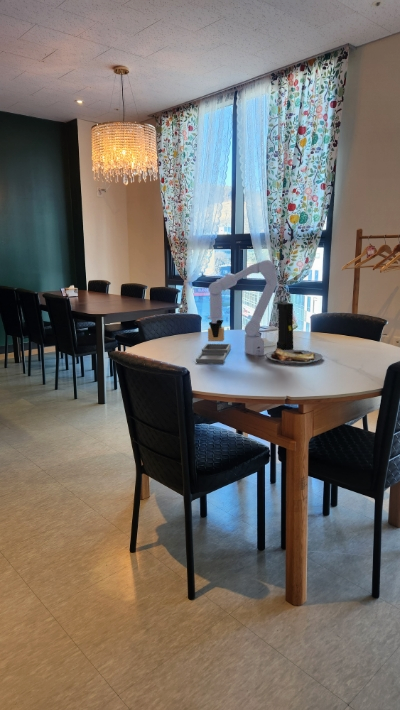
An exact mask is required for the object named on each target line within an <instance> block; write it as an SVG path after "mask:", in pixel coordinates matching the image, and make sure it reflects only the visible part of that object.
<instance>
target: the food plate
mask: <svg viewBox="0 0 400 710" xmlns="http://www.w3.org/2000/svg"><path fill="white" fill-rule="evenodd" d="M264 354H265V355H264V356H265V358H266V359H268V360H272V361H277V362H279V363H281V364H285V365H289V364H290V365H295V364H296V365H299V364H301V365H302V364H309V363H312V362H317V361H320V360H321V359H323V358H324V355H323V354H321V353H319V352H313V351H310V350H302V349H299V350H298V349H292V350H281V349H279V348H275V350H273V351H268V352H267V353H264Z"/></svg>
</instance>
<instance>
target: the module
mask: <svg viewBox="0 0 400 710" xmlns="http://www.w3.org/2000/svg"><path fill="white" fill-rule="evenodd" d="M207 339H208V340H207V341H208V342H224V340H225V327H224V326H222V325H221V326H220V328H219V334H218V337H213V334H212V329H211V327H210V326H209V327H208V328H207Z"/></svg>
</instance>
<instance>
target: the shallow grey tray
mask: <svg viewBox="0 0 400 710" xmlns="http://www.w3.org/2000/svg"><path fill="white" fill-rule="evenodd" d="M227 356H228V355H227V353H208V352H202V351H201V352H200V353H199V355H198V356H197V357H196V358H195V363H196V362H197V363H213V364H212V365H224V363H225V360H226V358H227Z"/></svg>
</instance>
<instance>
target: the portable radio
mask: <svg viewBox="0 0 400 710" xmlns="http://www.w3.org/2000/svg"><path fill="white" fill-rule="evenodd" d="M276 309H278V322H277V323H278V324H277V325H278V326H277V328H278V329H277V331H278V334H277V335H278V338H277V342H276V349H278V348H279V349H281V351H282V350H294V348H295V347H294V326H293V324H294V311H293V310H294V303H292V302H283V300H282V297H280V302H278V303H277V305H276Z"/></svg>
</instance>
